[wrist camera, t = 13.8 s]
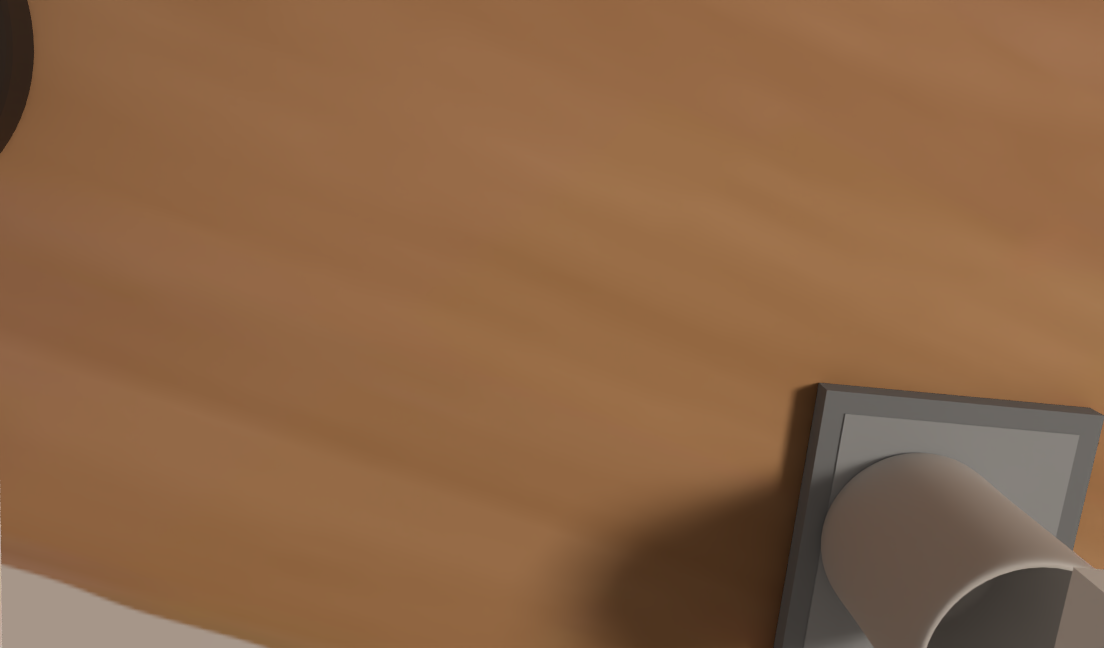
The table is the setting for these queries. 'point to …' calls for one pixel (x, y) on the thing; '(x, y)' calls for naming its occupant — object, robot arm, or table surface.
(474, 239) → the table surface
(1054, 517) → the coaster
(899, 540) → the mug
